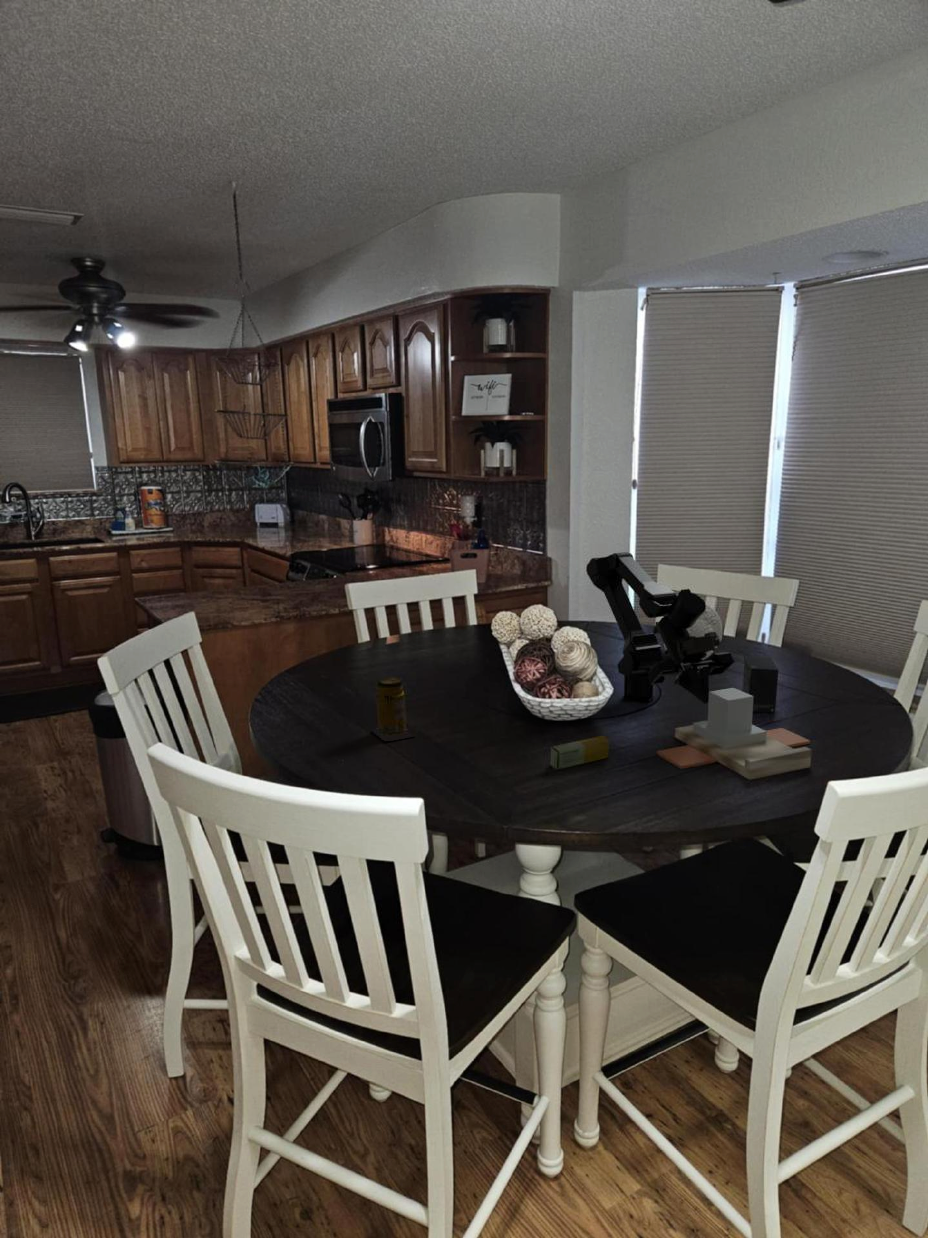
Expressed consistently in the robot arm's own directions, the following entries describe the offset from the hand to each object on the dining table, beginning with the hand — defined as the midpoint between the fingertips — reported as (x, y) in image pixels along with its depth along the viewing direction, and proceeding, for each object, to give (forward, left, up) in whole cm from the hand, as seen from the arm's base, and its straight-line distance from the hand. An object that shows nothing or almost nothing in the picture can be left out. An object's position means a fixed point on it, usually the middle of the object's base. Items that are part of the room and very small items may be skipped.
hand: (707, 702), depth 165 cm
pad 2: (+14, +2, -7) cm, 16 cm away
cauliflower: (-11, +58, -7) cm, 60 cm away
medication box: (-21, -24, -7) cm, 32 cm away
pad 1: (-2, -14, -7) cm, 16 cm away
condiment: (-62, -24, -7) cm, 67 cm away
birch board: (+7, -7, -7) cm, 12 cm away
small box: (+9, +22, -7) cm, 25 cm away
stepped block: (+5, -5, -5) cm, 9 cm away
